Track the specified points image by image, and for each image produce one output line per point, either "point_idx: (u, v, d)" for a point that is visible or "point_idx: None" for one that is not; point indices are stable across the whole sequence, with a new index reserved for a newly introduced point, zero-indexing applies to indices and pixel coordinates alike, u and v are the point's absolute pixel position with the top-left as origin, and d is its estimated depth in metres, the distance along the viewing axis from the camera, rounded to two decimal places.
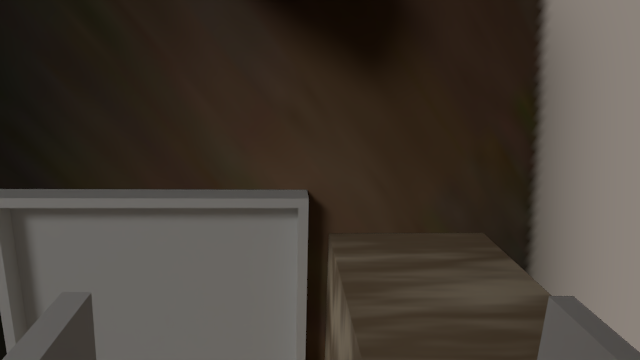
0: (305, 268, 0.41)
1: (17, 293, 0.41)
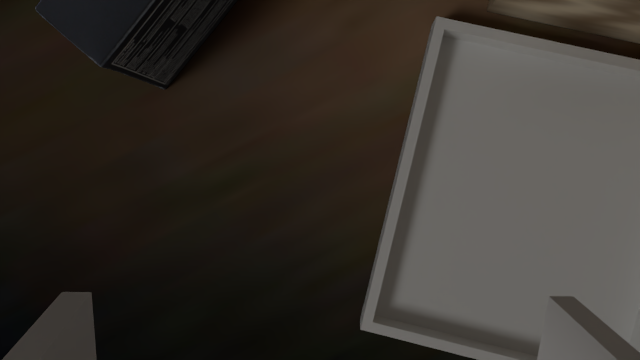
0: (516, 35, 0.37)
1: (468, 341, 0.40)
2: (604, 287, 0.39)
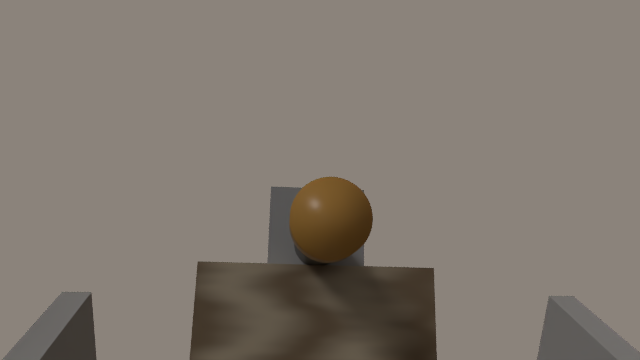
0: None
1: None
2: None
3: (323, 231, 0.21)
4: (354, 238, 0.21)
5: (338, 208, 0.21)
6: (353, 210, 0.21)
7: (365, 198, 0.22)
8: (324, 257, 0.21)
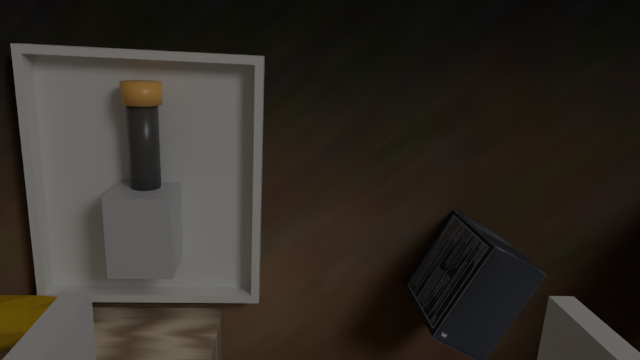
0: (198, 301, 0.51)
1: None
2: (71, 128, 0.47)
3: (146, 81, 0.46)
4: (132, 80, 0.46)
5: (136, 82, 0.45)
6: (129, 81, 0.45)
7: (121, 82, 0.44)
8: (148, 80, 0.47)
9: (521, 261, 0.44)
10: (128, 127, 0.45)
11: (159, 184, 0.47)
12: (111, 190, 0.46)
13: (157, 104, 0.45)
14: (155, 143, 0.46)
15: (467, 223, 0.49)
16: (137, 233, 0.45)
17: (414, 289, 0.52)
